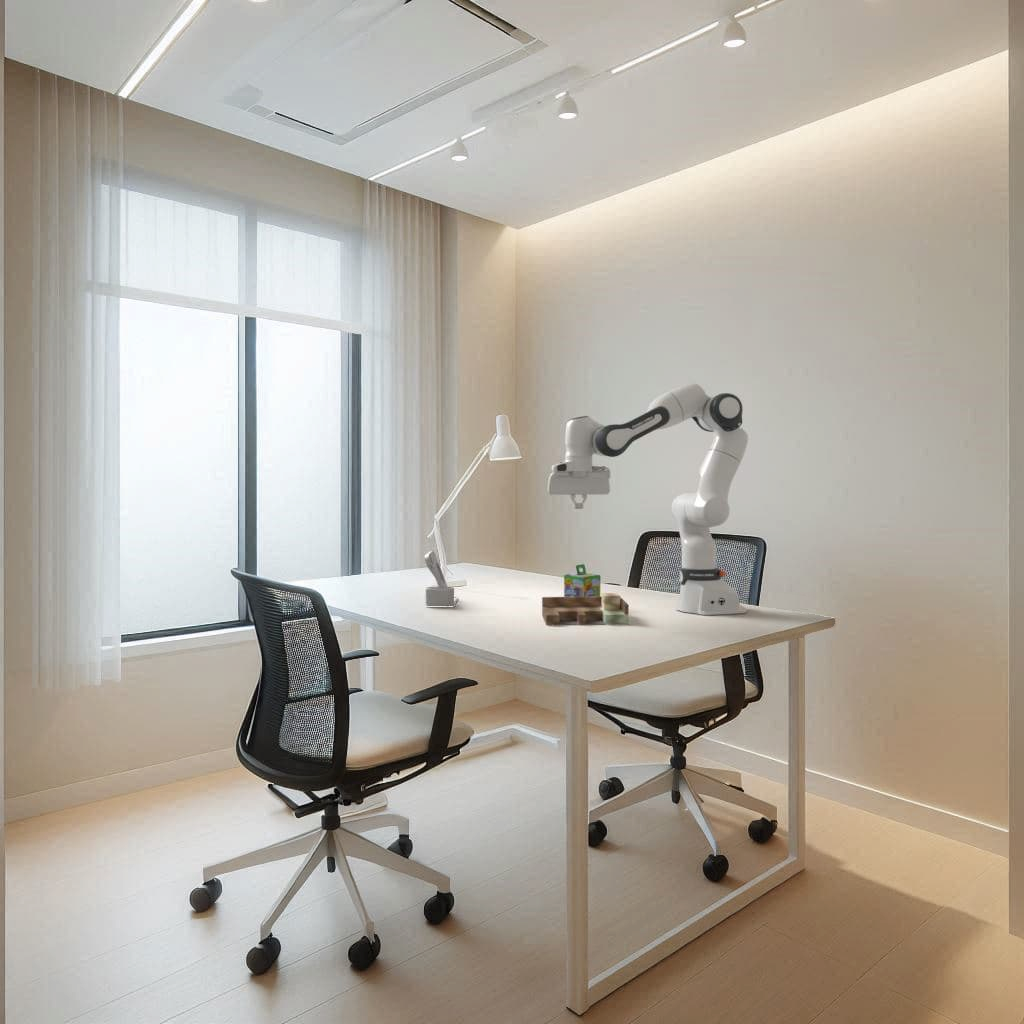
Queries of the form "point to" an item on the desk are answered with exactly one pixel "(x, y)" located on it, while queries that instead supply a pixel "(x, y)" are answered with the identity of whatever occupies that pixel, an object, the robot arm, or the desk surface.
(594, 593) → the chalk box
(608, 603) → the maple block
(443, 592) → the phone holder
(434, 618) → the desk surface
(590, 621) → the track
